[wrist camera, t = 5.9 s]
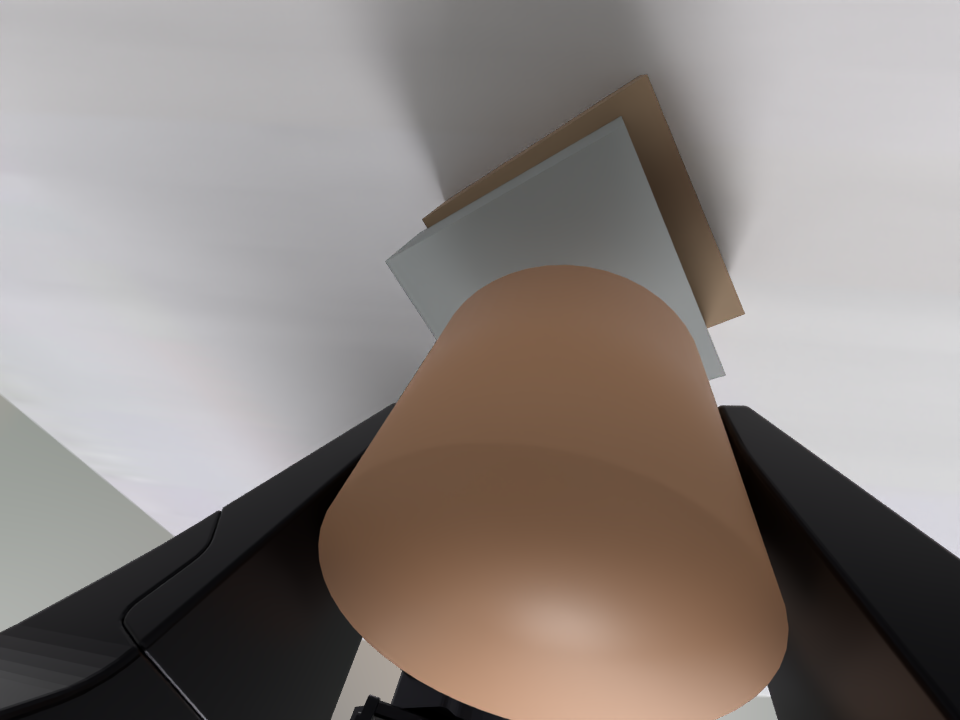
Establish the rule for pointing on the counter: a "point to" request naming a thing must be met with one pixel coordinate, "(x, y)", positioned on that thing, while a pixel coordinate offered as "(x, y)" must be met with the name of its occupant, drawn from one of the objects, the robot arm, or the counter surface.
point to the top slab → (555, 235)
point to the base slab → (663, 179)
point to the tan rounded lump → (560, 516)
